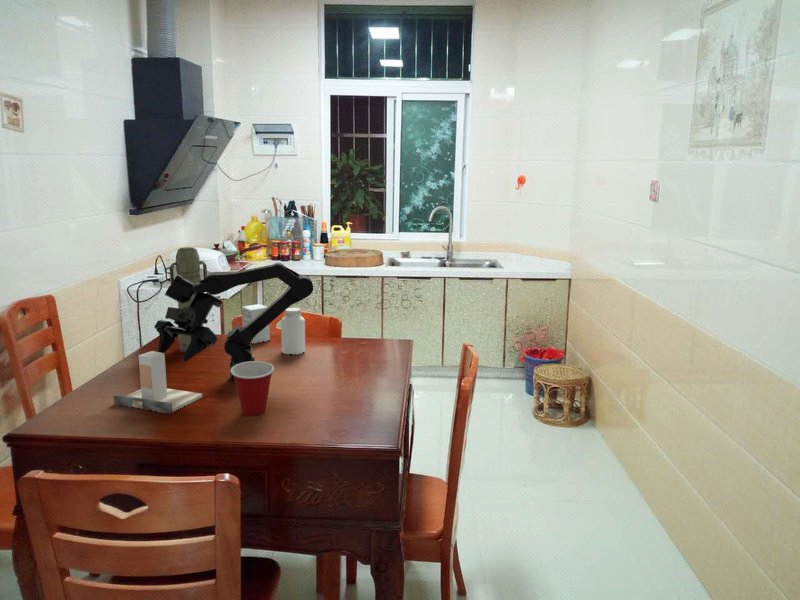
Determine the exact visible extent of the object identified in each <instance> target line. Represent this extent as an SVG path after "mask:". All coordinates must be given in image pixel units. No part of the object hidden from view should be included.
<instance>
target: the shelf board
mask: <svg viewBox="0 0 800 600" xmlns="http://www.w3.org/2000/svg"><path fill="white" fill-rule="evenodd" d="M202 398H203V393H199V392H195V391H187V390H179V389H173V388H167V397H164V398H162V399H159V400H157V401H154V400H148V399H142V394H141V388H140V389H137V390H136V391H134V392H131V393H128V394H126V395H123V394H117V393H116V394H114V395H113V405H114V404H115V406H120V405H122V407H126V406H128V408H132V407H134V408H133V409H138V408H140V409H139V410H143V409H145V411H149V410H152V411H151V412H155V411H157V412H156V413H161V412H162V413H163V414H167V413H169V414H168V415H171V414H173V413H175V412H177V411H178V409H179V410H181V409H183V408H184V406H185V407H186V406H188V405H190V404H192V403H194V402H196V401H199V400H200V399H202ZM180 408H181V409H180ZM176 410H177V411H176ZM174 411H175V412H174ZM172 412H173V413H172ZM170 413H171V414H170Z"/></svg>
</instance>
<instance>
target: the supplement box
mask: <svg viewBox="0 0 800 600" xmlns="http://www.w3.org/2000/svg"><path fill="white" fill-rule="evenodd" d="M267 307H268V306H266V305H263V304H260V303H258V304H252V305H245V306H244V305H243V306H241V323H242V324H241V325H242V326H241V327H243V326H246V325H247V324H249V323H250V322H251V321H252V320H253V319H255V318H256V317H257V316H258V315H259V314H260V313H262V312H263V311H264V310H265V309H266V308H267ZM270 335H271V334H270V324H269V325H267V326H266V327H265V328H264V329H263V330H262V331H260V332H259V333H258V334H257V335H256V336H255V337H254V338H253V340H252V341H251V343H252V345H253V343H254V344H258V342H259V343H263V341H264V342H269V341H268V340H270V341H271V336H270ZM251 343H250V344H251Z"/></svg>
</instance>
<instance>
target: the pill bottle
mask: <svg viewBox="0 0 800 600" xmlns="http://www.w3.org/2000/svg"><path fill="white" fill-rule="evenodd" d="M301 311H302V310H301V308H299V307H288V308H287V309H286V310H285V311H284V316H283V317H282V319H281V322H280V327H281V328H280V329H281V331H280V332H281V333H280V334H281V335H280V337H281V352H282V354H285V355H289V354H293V355H294V356H295V354H296V355H301V354H303V352H304V353H305V352H306V320H305V318H304V317H303V316H302V315H301V314H302V312H301Z"/></svg>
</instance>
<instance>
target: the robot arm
mask: <svg viewBox="0 0 800 600" xmlns="http://www.w3.org/2000/svg"><path fill="white" fill-rule="evenodd" d="M272 279H279V280H280V281H281V282H283V283H284V284H286V285H287V288H286V289H285V290H284V292H283V293H282V294H281V295H280V296H279V297H278V298H277V299H276V300H275V301H273V302H272V303H271V304H270V305H268V306H266V307H267V308H266V309H265V310H264V311H263V312H262V313H260V314H259V315H258V316H257V317H256V318H255V319H253V320H252V321H251V322H250V323H249V324H247V325H246V326H241V325H240V324H239V323H238V324H237V325H236V326H235V327H234V328H233V329H231V330H229V331H228V332H227V336H226V339H225V342H224V345H223V347H224V351H225V353H226V354H227V355H228V356H230V362H229V374H230V376H229V377H227V379H228V381H229V380H230V381H235V380H234V377H233V375H232V373H231V371H230V370H231V368H232V367H233V366H235V365H236V364H240V363H243V362H249V361H256V360H255V357H253V349H254V348H253V346H252V345H251V341H252V340H253V338H254V337H255V336H256V335H257V334H258V333H259V332H260V331H262V330H263V329H264V328H265V327H266V326H267V325H269V326H270V324H271V323H272V322H273V321H274V320H276V319H277V318H278V317H279V316H280V315H282V314H283V312H284V313H285V310H286V309H287V308H291V306H292V305H294V304H296V303H299V302H301V301H303V300H304V299H306V298H308V297H309V296H311V295H312V294H313V291H314V283H313V280H312V279H311V278H310V277H309V275H306V274H300V273H298V272H297V271H294V270H293V269H290V268H289V267H287V266H285V265H284V264H283V263H282V262H275V263H273V264H268V265H263V266H258V267H254V268H248V269H244V270H243V269H242V270H239V271H238V270H237V271H212V272H209V273H207V277H206V278H205V279H204V278H203V279H201V281H198V282H196V283H195V284H194V283H192V282H190V281H188V280H186V279H184V278H183V277H182V276H180V275H177V274H176V275H175V277H174V281H173V282H172V284H171V283H170V285H169V286H168V288H167V289H166V291H165V293H164V295H165V296H166V297H168V298H170V299H172V300H174V301H176V302H177V301H178V302H180V303H181V304H183V303H186V302H187V303H188V302H189V301H190V299H191V297H192V296H193V294H194V295H195V297H194V299H193V300H192V302H191V304H190V306H189V307H185V308H184V309H179V308H178V307H171V306H168V307H167V311H166V313H165V317H164V318H165V319H167V320H164V319H163V320H162V319H159V320H157V321H156V322H155V325H154V327H153V328H155V330H156V332H157V333H158V335H159V343H158V348H157V352H160V353H164V354H166V352H167V351H168V350H169V349H170V347H172V345H174V343H175V342H176V338H178V335H179V334H180V335H186V336H191V342H190V344H189V346H188V348H187V350H186V352H184V354H183V356H182V359H181V360H182V361H183V362H188V360H190V359H191V358H193V357H194V356H196V355H197V354H199V353H200V352H203V351H204V349H205V348H206V349H207V348H210V347H211V346H212V347H214V346H215V345H216V343H217V342H218V335H217V334H216V333H215V332H214V331H213V330H212V329H211V328H210V327H208V326H204V324H205V325H206V324H207V323H209V320H208V319H207V318H208V315H209V314H210V312H211V310H212V308H213V307H214V306H215V307H216V308H220V307H221V306H222V304H223V302H222V300H221V296H220V295H219V294H222V293H225V292H227V291H229V290H231V289H234V288H235V287H238V286H242V285H246V284H253V283H257V282H262V281H266V280H272ZM202 292H204V293H202ZM215 295H217V296H215ZM178 302H177V303H178ZM168 319H169V320H172V321H173V323H174V324H173V323H172V322H171V321H169V320H168ZM202 324H203V326H204V327H203V326H202ZM175 325H177V326H175ZM206 349H205V350H206ZM202 350H203V351H202Z"/></svg>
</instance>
